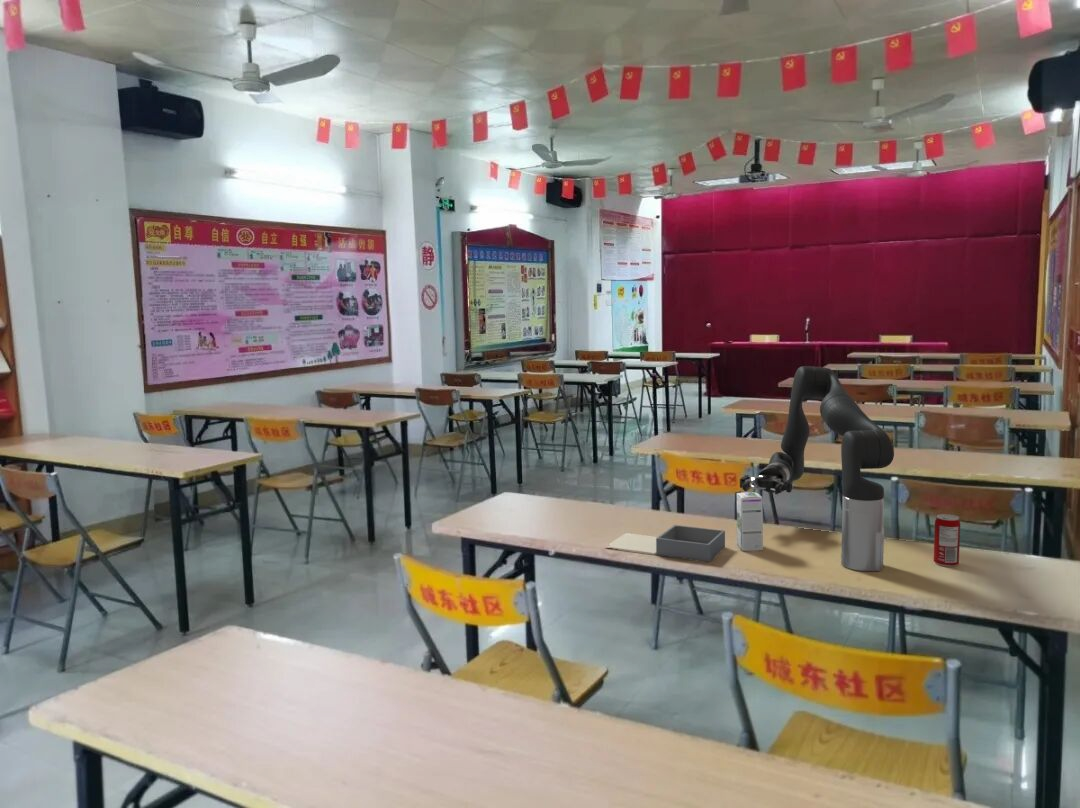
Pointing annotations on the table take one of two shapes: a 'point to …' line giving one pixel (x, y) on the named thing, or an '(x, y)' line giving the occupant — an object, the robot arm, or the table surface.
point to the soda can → (947, 540)
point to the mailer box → (675, 543)
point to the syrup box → (749, 521)
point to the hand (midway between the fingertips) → (760, 489)
